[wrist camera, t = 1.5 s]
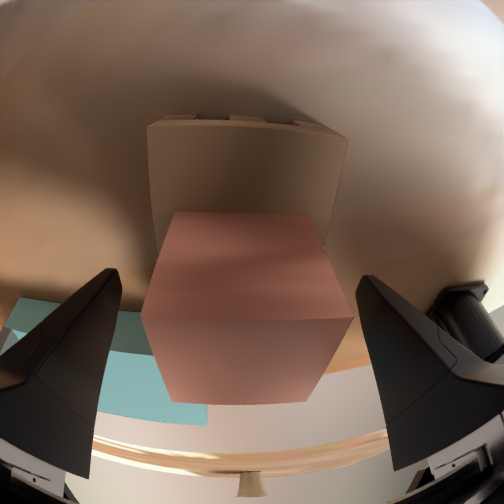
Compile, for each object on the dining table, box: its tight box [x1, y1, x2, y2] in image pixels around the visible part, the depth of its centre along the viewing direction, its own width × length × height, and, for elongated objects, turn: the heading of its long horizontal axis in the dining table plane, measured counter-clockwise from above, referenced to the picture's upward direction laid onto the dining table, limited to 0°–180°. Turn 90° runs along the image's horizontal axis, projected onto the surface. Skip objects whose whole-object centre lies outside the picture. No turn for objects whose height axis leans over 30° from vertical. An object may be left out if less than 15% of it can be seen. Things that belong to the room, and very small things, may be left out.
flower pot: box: [237, 471, 269, 497], centre depth 56 cm, size 9×9×9 cm
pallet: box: [146, 114, 348, 257], centre depth 11 cm, size 6×10×3 cm, turn 175°
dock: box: [0, 297, 207, 426], centre depth 16 cm, size 14×12×6 cm
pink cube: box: [140, 211, 354, 405], centre depth 8 cm, size 4×4×4 cm
